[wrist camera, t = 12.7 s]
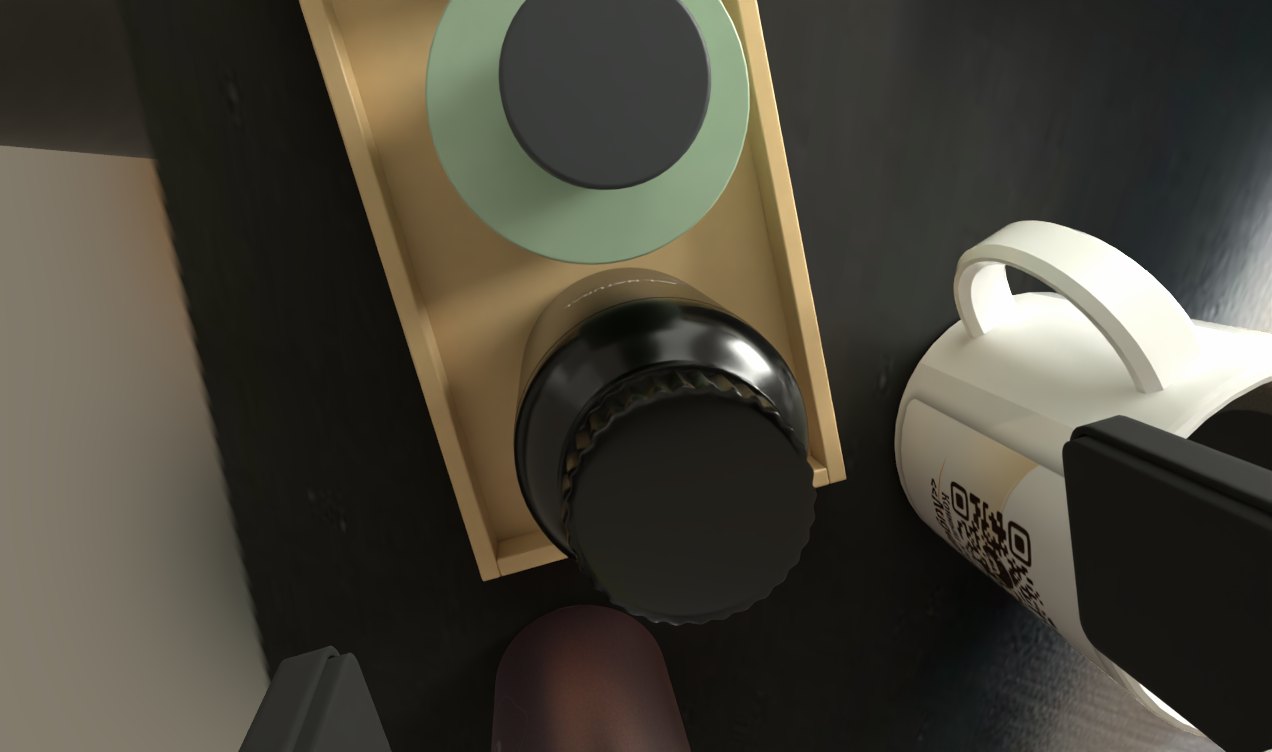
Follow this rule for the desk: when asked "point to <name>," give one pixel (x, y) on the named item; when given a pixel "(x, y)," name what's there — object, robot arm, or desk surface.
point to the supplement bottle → (663, 447)
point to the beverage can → (585, 687)
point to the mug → (1062, 407)
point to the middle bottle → (588, 119)
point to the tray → (540, 261)
